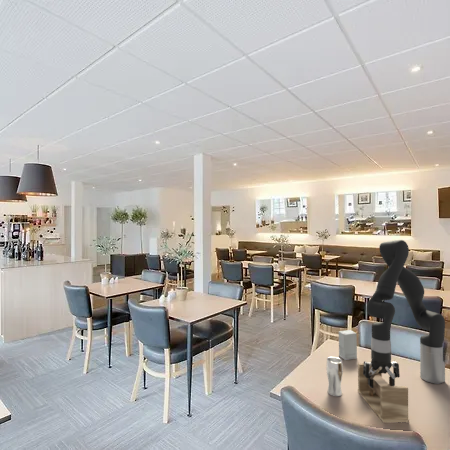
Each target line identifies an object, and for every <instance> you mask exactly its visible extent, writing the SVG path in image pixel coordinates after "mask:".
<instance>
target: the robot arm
mask: <svg viewBox="0 0 450 450" xmlns="http://www.w3.org/2000/svg"><path fill="white" fill-rule="evenodd" d="M378 249H379V253H380V256H381V258H382V259H383V261H384V262H385V264H386V265H387V269H386V270H384V271H383V273H382V274H381V275H380V277H379V279H378V281H377V285H376V289H375V291H374V293H373V295H372V296H371V298H370V299H369V300H368V302H367V304H366V312H367V315H369V316H370V317H373V318H378V319H383V322H373V323H372V324H371V338H370V339H371V340H370V353H371V354H370V358H371V361H370V362H368V361H366V360H365V361H363V363H364V366H363V375H364V376H365V377H366V378H368V385H369V386H370V387H371V388H373V378H374V376H376V375H377V374H378V373H379V374H381V373H382V374H384V375H385V374H388V384H389V385H390V386H396V378H397V379H398V378H400V377H401V375H400V364H399V363H398V362H397V361H395V360H393V361H392V342H391V327H392V324H393V320H394V317H395V315H396V314H395V313H396V308H395V306H394V304H393V303H391V302H389V301H391V300H393V298H394V295H395V291H396V287H397V284H398V285H399V288H400V290H401V292H402V294H403V296H404V297H405V299H406V301H407V303H408V305H409V307H410V309H411V312H412V315H413V317H414V321H416V324H417V325H418V326H419V327H420V328H422V329H424V330H427V331H429V332H428V335H427V334H424V335H421V336H420V338H419V344H420V345H419V348H420V349H419V353H420V354H419V355H420V356H419V361H420V362H419V364H420V366H419V367H420V368H419V369H420V372H419V373H420V374H419V375H420V376H419V377H420V378H421V379H422V380H424V381H425V382H427V383H431V384H437V385H438V384H439V385H440V384H443V383H445V382H446V362H445V361H444V357H443V356H444V355H443V354H444V352H443V351H444V349H443V348H444V347H443V346H444V341H445V335H446V334H445V333H446V332H445V331H446V322H445V321H446V320H445V317H444V316H443V315H442V314H441V313H438V312H435V311H431V310H428V309H427V308H426V306H425V304H424V302H423V300H424V299H423V298H424V296H425V287H424V286H423V284H422V282H421V280H420V278H419V277H418V275H416V274H415V273H414V272H412V271H411V270H410V269H409V268H407V267H405V263H406V262H407V260H408V258H409V253H410V249H409V245H408V243H407V242H406V241H405V240H403V239H397V240H396V239H394V240H388V241H383V242H381V243H380V245H379V248H378ZM386 301H387V302H386ZM370 366H372V368H371V369H370V372H369V368H370ZM391 368H392V370H391ZM374 370H375V372H374ZM392 371H393V372H392Z"/></svg>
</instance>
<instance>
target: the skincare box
mask: <svg viewBox="0 0 450 450" xmlns="http://www.w3.org/2000/svg"><path fill="white" fill-rule="evenodd" d="M357 335H358V333H356V332H355V331H353V330H351V329H347V330H340V331H339V330H338V356H339V357H340V359H343V360H344V361H348V360H354V359H358V352H357V351H358V348H357V347H358V344H357V343H358V340H357V339H358V336H357Z"/></svg>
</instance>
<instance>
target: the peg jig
mask: <svg viewBox="0 0 450 450" xmlns="http://www.w3.org/2000/svg"><path fill="white" fill-rule="evenodd" d="M363 366H364V362H363V363H359V362H358V363H357V382H358V383H357V384H358V385H357V386H358V387H357V392H358V394H359V395H360V396H361V397H362V399H364V401H365V403H367V405H369V407H370V409H372V411H373V412H374V413H375V415H376V416H377V417H378V418H379V420H380V421H381V422H382V423H384V424H385V423H386V424H390V423H391V424H392V423H393V424H394V423H398V422H401V423H402V422H406V423H410V419H409V387H408V386H406V385H395V386H380V395H381V398H380V397H379V396H378V395H377V394H376V393H375V392H374V391H373V390H372V389H371V387H370V386H369V385H368V384H367V378H366V377H365V376H364V375H363ZM371 368H372V366H370V368H369V372H370V369H371ZM374 372H375V370H374ZM378 374H379V373H378ZM382 374H383V373H381V374H379V375H380V376H381V377H382V378H383V375H382ZM401 423H400V424H401Z"/></svg>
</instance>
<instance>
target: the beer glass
mask: <svg viewBox="0 0 450 450" xmlns="http://www.w3.org/2000/svg"><path fill="white" fill-rule="evenodd" d="M343 366H344V364H343V360H342V358H341V357H340V358H339V357H337V356H328V357H327V358H326V376H327V381H328V383H327V384H328V387H327V393H328V395H331V396H333V397H340V396H343V395H342V394H343V393H342V380H343V374H344V371H343V370H344V368H343Z"/></svg>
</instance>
